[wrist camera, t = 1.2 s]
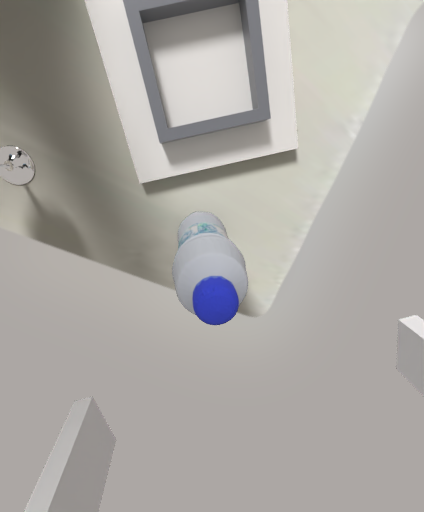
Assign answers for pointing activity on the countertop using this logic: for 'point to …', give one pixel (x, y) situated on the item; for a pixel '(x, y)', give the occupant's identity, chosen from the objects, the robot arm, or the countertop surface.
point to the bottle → (208, 269)
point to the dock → (198, 80)
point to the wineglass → (16, 165)
